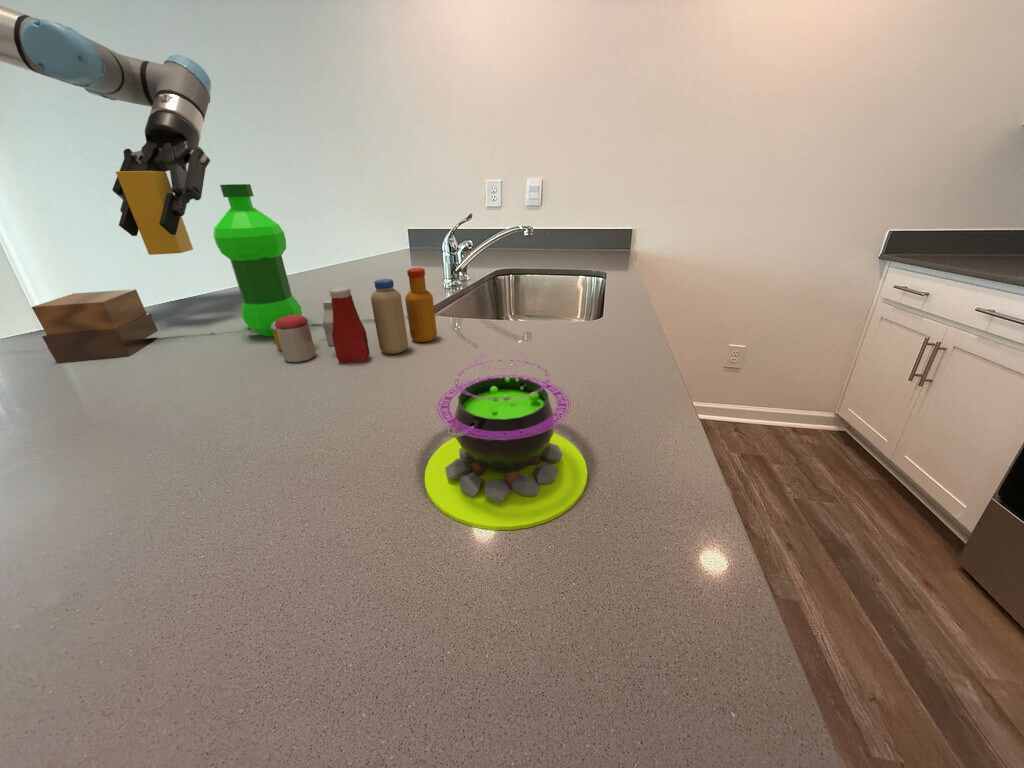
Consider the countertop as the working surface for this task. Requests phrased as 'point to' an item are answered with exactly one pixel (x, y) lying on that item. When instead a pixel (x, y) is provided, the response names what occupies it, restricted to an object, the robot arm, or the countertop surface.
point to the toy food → (348, 328)
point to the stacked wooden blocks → (95, 325)
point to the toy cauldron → (505, 455)
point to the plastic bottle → (255, 260)
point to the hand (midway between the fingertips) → (147, 229)
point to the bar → (152, 211)
